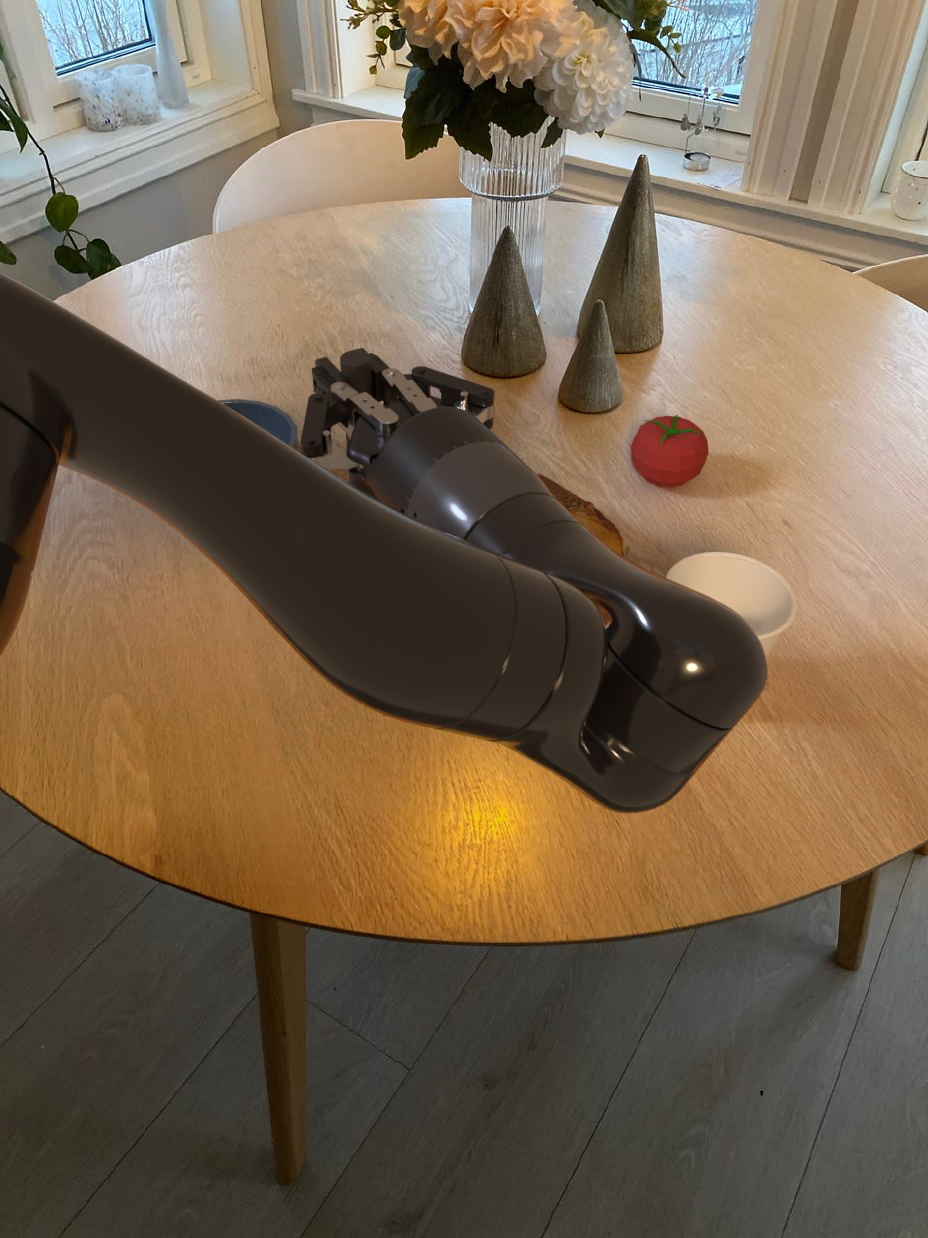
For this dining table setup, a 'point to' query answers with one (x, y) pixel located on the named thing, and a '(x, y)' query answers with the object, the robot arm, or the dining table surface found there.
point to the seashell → (588, 516)
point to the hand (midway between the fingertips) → (338, 366)
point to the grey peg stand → (360, 378)
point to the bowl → (267, 419)
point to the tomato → (669, 451)
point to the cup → (742, 590)
